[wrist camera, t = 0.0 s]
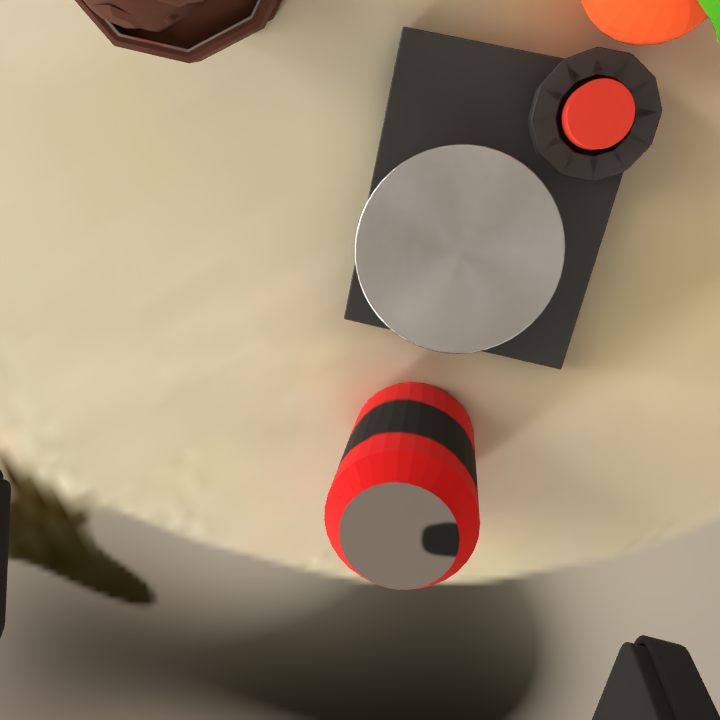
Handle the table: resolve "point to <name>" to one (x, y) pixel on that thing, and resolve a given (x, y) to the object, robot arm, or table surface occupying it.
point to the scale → (517, 149)
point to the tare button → (598, 114)
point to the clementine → (651, 18)
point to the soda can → (406, 489)
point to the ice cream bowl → (179, 24)
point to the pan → (459, 248)
